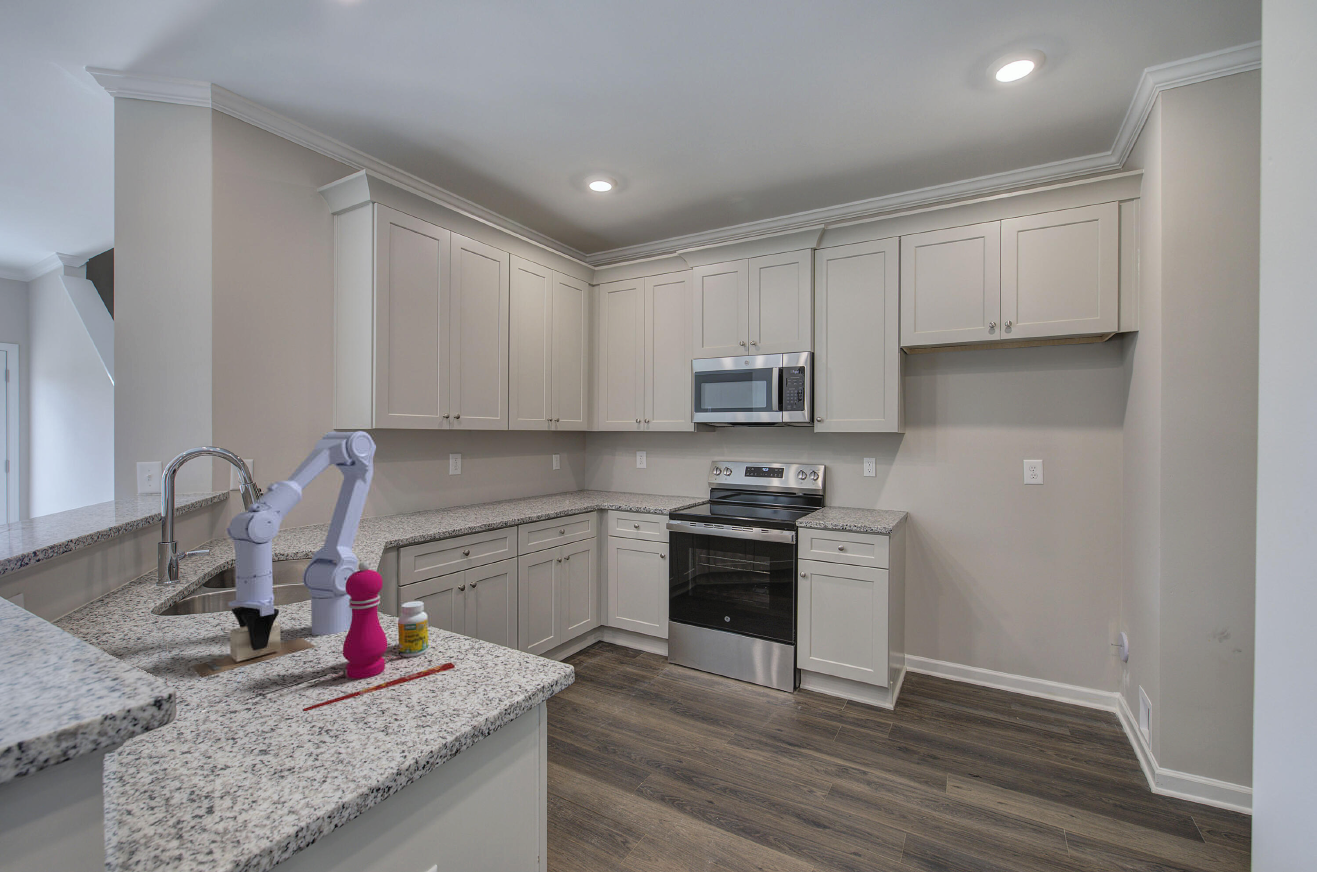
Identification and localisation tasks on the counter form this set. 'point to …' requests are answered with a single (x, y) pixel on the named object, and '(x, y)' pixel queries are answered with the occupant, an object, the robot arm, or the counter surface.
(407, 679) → the chopstick
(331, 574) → the robot arm
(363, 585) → the pepper mill
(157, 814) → the counter surface
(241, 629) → the cap
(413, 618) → the supplement bottle
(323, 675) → the slate mat
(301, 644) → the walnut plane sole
